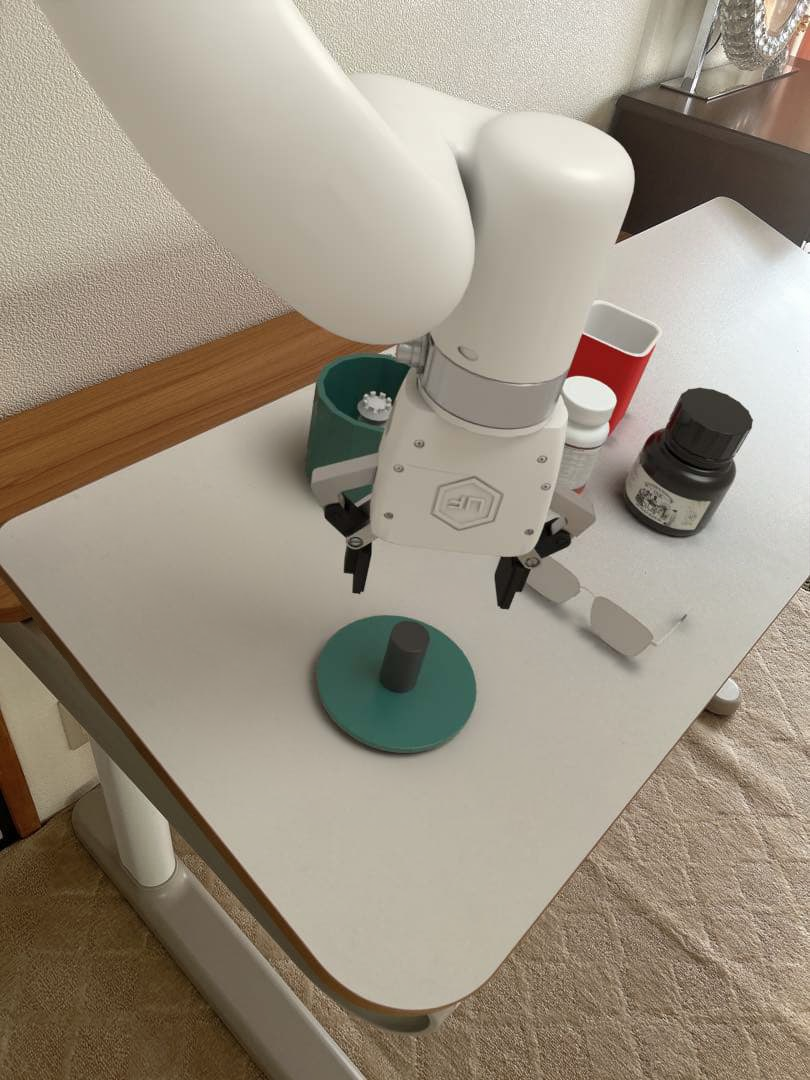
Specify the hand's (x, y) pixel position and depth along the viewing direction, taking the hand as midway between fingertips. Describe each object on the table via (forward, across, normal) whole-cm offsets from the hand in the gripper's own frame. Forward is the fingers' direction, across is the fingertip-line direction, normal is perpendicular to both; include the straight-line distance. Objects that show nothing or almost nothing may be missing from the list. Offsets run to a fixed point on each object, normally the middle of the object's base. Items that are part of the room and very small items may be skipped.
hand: (430, 585), depth 58 cm
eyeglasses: (+12, +18, +12) cm, 24 cm away
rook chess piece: (+11, -3, +24) cm, 26 cm away
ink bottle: (+12, +27, +25) cm, 38 cm away
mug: (+12, +19, +40) cm, 46 cm away
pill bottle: (+12, +15, +26) cm, 32 cm away
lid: (+11, 0, 0) cm, 11 cm away
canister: (+12, -3, +24) cm, 27 cm away
